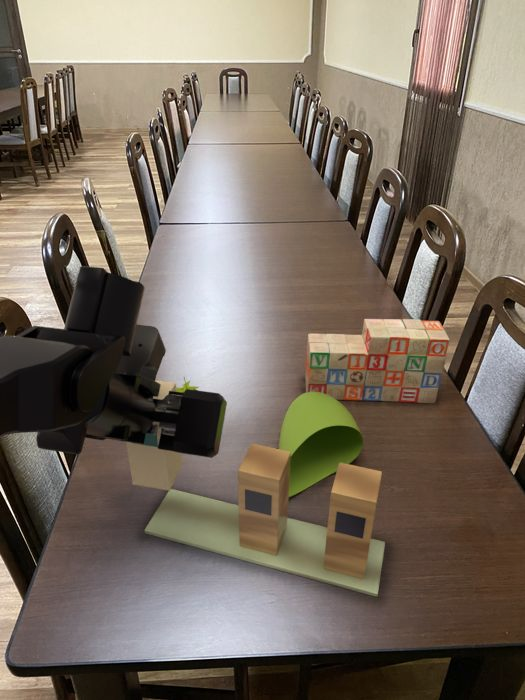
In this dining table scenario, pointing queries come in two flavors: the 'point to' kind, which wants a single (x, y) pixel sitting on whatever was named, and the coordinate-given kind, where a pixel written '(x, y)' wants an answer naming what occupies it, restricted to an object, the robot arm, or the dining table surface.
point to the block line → (283, 523)
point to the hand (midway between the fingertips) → (158, 423)
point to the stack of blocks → (379, 361)
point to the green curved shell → (317, 439)
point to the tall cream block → (154, 455)
